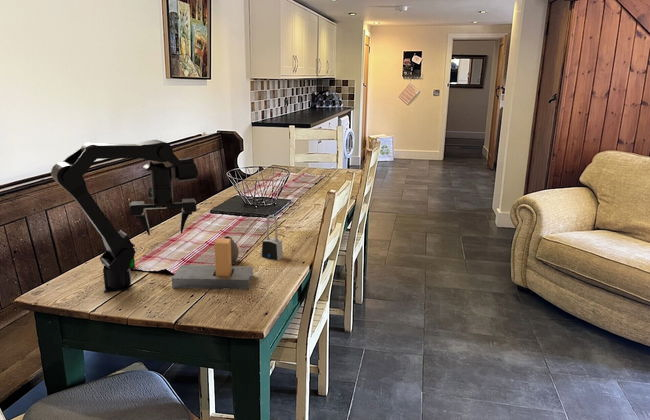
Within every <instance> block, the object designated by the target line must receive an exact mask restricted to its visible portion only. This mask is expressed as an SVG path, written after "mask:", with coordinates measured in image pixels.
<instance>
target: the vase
mask: <svg viewBox="0 0 650 420" xmlns="http://www.w3.org/2000/svg"><path fill="white" fill-rule="evenodd" d="M222 239H231V265H232V264H235V262H236V261H237V259H238V258H239V247H238V244H237V243H236V242H235V241H234V239H233V238H232V237H231V236H230V235H226V236H224V237H223V238H222Z"/></svg>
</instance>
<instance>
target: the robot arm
mask: <svg viewBox="0 0 650 420" xmlns="http://www.w3.org/2000/svg"><path fill="white" fill-rule="evenodd" d="M99 159H100V160H102V159H104V160H106V159H107V160H108V159H109V160H110V159H142V160H146V161H147V163H145V164H144V165H143V166H142V169H143V170H145V171H147V172H149V171H150V179H151V187H147V194H148V199H152V203H147V204H146V203H145V201H144V200H140V201H139V200H138V201H136V200H135V201H131V202H130V203H129V206H128V212H129V215H130V216H134V218H135V219H138V220H139V221H140V222H141V224H142V225H143V227H144V230H145V231H146V234H147V235H148V236H151V230H150V225H149V219H148V215H147V211H148V212H149V211H161V210H179V209H180V210H181V215H180V225H179V228H180V229H179V230H180V234H182V233H183V231H184V227H185V224H186V221H187V220H188V217H189V216H190V215H193V213H194V212H195V213H196V212H197V200H196V199H195V198H193V197H192V198H182V199H181V202H178V201H177V202H174V193H173V192H174V190H173V180H175V182H178V183H179V182H186V181H193V180H197V178H198V175H199V170H198V167H197V165H196V163H195V159H194V158H193V157H189V156H188V157H185V158H178V156H176V154H175V153H174V149H173V147H172V145H171V144H170V143H168V142H166V141H162V140H159V139H152V140H146V141H142V142H138V143H92V142H86V143H84V144H82V145H81V147H79V148H78V149H77V150H75V151H74V152H73V153H71V154H70V155H68V156H67V157H66V158H65V159H64V160H63V161H59V162H57V163H55V164H54V165H53V166H52V168H51V171H50V176H51V178H52V179H53V180H54V181H55V182H56V183H57V184H58V185H59V186H60V187H61V188H62V189H64V190H65V191H66V192H67V193H68V194H69V195H70V196H71V197H72V198H73V199H74V201H75V202H76V203H77V205H78V207H80V208H81V210H82V212H83V213H84V215H85V216H86V217H87V218H88V220H89V221H90V222H91V224H92V225H93V227H94V229H96V231H97V232H98V234H99V235H100V236H101V239H102V241H103V245H104V247H105V249H106V250H105V251H104V252H103V254H102V255H101V256H99V260H100V263H101V264H102V265H104V266H103V269H102V272H103V282H104V283H103V284H104V288H103V292H116V291H127V290H129V289H130V286H131V284H132V276H131V268H129V266H130V263H131V260H132V259H133V258H134V259H135V256H136V255H135V254H136V249H135V247H136V244H134V243H133V242H132V241H131V239H130V237H129V235H128V234H127V233H125V232H124V231H123V230H121V229H120V230H118V231H117V230H116V229H115V227H114V226H113V225H112V223H111V222H110V220H109V219H108V218H107V216H106V215H105V213H104V212H103V211H102V209H101V207H100V206H99V205H98V203H97V202H96V201H95V199H94V198H93V196H92V195H91V193H90V192H89V189H88V187H87V183H86V180H85V178H84V176H85V174H86V173H87V172H88V171H89V170H90V168H91V167H92V165H93V164H94V163H95V162H96V161H97V160H99ZM154 162H155V163H154ZM165 163H168V164H165Z"/></svg>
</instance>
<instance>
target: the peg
mask: <svg viewBox="0 0 650 420" xmlns="http://www.w3.org/2000/svg"><path fill="white" fill-rule="evenodd" d="M214 262H215V263H214V264H215V265H214V266H215V270H216V276H232V266H233V265H232V264H231V239H223V238H216V240H215V241H214Z"/></svg>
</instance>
